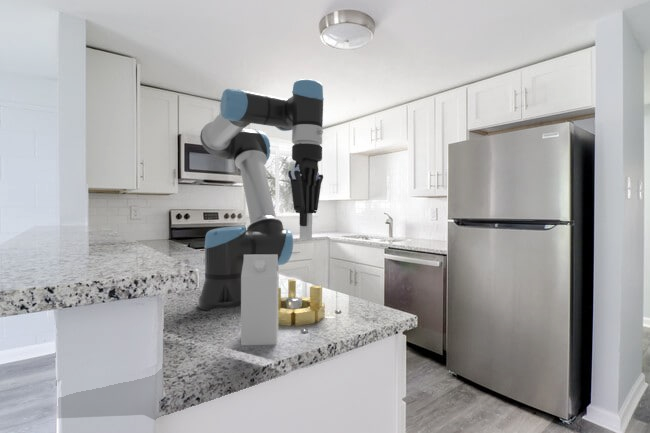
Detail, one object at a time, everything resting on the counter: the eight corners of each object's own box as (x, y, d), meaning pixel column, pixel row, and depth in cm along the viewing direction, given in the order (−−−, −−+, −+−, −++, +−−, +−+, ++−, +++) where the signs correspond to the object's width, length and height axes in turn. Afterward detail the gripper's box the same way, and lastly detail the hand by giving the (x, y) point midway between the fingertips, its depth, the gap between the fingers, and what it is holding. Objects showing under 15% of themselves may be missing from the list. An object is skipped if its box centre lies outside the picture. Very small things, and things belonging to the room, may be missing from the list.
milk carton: (245, 338, 76) (246, 252, 76) (278, 337, 76) (278, 252, 76) (240, 351, 69) (241, 256, 68) (276, 350, 69) (276, 256, 69)
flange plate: (237, 325, 84) (237, 302, 84) (284, 305, 102) (284, 287, 102) (306, 340, 75) (306, 315, 75) (345, 316, 92) (345, 295, 92)
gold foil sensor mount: (310, 328, 79) (310, 293, 79) (253, 321, 84) (253, 288, 83) (330, 310, 93) (330, 281, 93) (280, 305, 98) (280, 277, 98)
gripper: (305, 139, 78) (304, 242, 79) (332, 148, 89) (330, 238, 90) (279, 141, 82) (277, 240, 82) (308, 149, 93) (306, 236, 94)
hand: (305, 238), depth 86 cm, fingers closed
